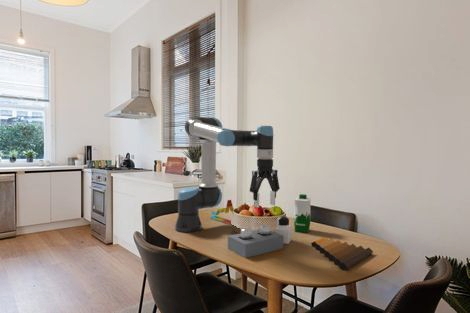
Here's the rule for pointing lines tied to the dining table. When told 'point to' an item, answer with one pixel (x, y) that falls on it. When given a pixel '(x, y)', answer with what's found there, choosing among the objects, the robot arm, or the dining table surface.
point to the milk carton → (302, 213)
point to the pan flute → (341, 252)
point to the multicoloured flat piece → (226, 210)
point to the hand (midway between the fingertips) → (264, 205)
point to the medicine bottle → (283, 229)
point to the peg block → (255, 244)
